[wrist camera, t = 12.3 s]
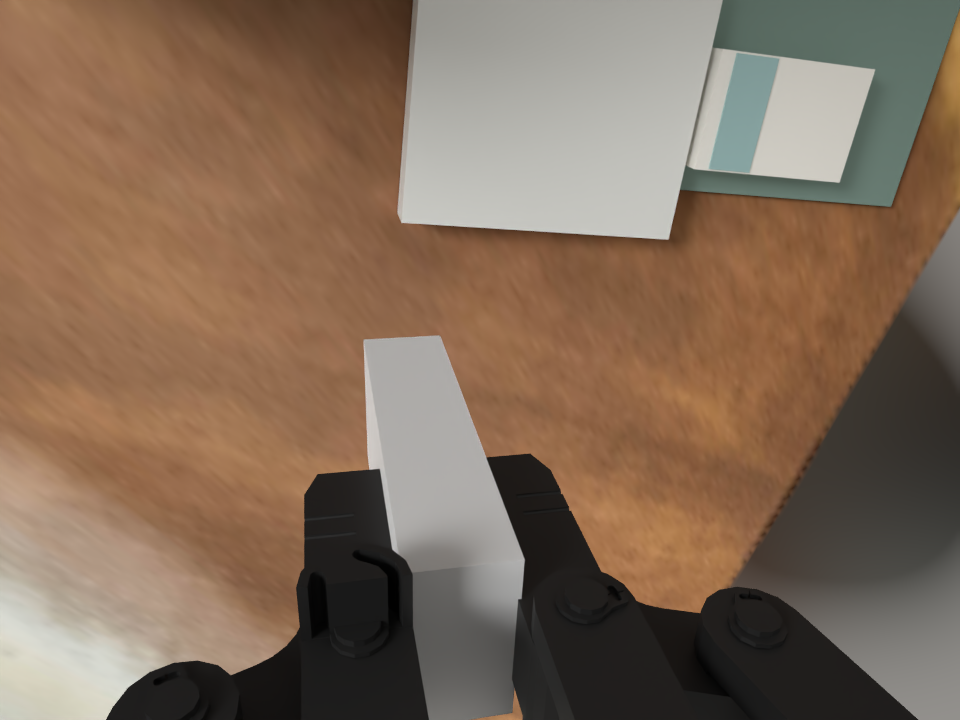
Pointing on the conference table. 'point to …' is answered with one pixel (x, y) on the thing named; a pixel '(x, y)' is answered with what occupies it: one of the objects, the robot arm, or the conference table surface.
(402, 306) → the conference table surface
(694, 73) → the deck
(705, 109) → the card
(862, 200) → the mat
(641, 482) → the conference table surface
